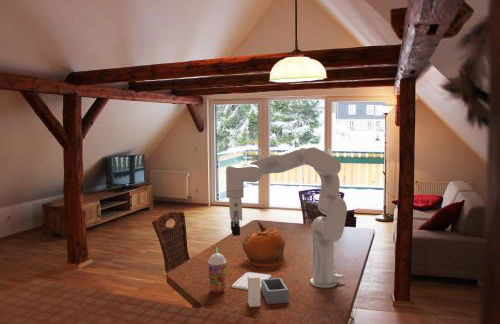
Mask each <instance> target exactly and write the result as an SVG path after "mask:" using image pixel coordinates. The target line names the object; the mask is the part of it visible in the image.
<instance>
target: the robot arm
mask: <svg viewBox="0 0 500 324" xmlns="http://www.w3.org/2000/svg"><path fill="white" fill-rule="evenodd" d="M301 166H310V167H312V169H313V170H314V171H315V172H316V173H317V175H318V176H319V178H320V191H319V197H318V202H317V208H318V211H319V212H320V213H322V214H323V215H326V216H317V217H316V218H314V219H313V221H312V223H311V236H312V246H313V247H312V248H313V250H312V252H313V253H312V260H313V261H312V262H313V263H312V268H313V269H312V271H313V272H312V274H313V275H312V276H313V277H312V278H310V280H309V284H310V285H311V286H314V287H316V288H320V289H329V288H334V287H336V286H337V285H338V280H344V279H345V275H344V274H339V273H334V272H335V270H334V268H335V267H334V266H335V261H334V260H335V258H334V257H335V255H334V252H335V245H334V243H335V242H336V243H337V242H338V241H339V240H340V239H341V238H342V236H343V234H344V230H345V225H346V224H345V223H346V220H347V214H348V207H347V203H346V201H345V200H344V199H343V198H342V197H340V196H339V194H340V186H341V185H340V184H341V183H340V177H339V173H340V172H341V169H342V165H341V162H340V161H339V159H337V157H335V156H332V155H331V154H329V153H327V152H325V151H323V150H321V149H319V148H318V147H316V146H311V145H302V146H298V147H295V148H292V149H289V150H286V151H283V152H280V153H277V154H274V155H270V156H267V157H264V158H260V159H256V160H254V161H251V162H248V163H245V164H243V165H236V164H235V165H227V167H226V168H225V181H226V182H225V183H226V184H225V187H226V188H225V191H226V194H225V195H226V197H225V198H227V199H228V204H229V205H228V207H229V208H228V209H229V211H228V212H229V218H230V231H232V236H234V237H235V236H237V237H238V236H241V225H240V224H241V223H240V222H241V221H243V202H242V198H244V196H245V195H244V194H245V192H244V187H245V186H244V182H247V183H257V182H259V181H260V180H261V179H262V178H263V175H265V176H266V175H269V174H279V173H284V172H288V171H291V170H294V169H295V168H299V167H301Z"/></svg>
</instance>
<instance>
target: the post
mask: <svg viewBox="0 0 500 324" xmlns="http://www.w3.org/2000/svg"><path fill="white" fill-rule="evenodd" d="M247 304H248V306H249V308H251V307H252V308H254V307H261V289H260V276H259V274H248V290H247Z"/></svg>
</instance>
